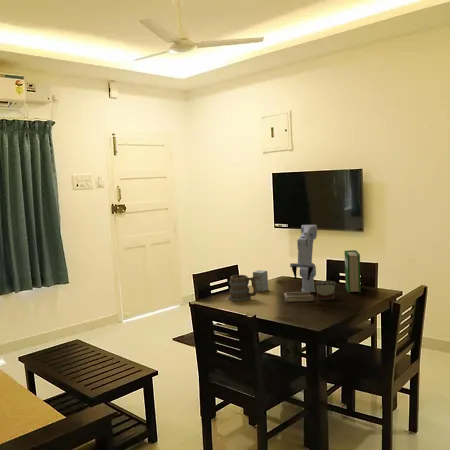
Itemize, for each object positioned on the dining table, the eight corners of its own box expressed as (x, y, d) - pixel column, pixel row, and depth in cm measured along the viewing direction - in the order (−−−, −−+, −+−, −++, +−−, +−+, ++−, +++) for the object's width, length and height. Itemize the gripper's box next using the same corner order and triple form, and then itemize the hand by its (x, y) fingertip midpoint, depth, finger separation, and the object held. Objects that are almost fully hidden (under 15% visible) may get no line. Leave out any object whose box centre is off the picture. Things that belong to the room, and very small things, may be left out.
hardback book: (360, 292, 298) (359, 254, 296) (348, 293, 299) (347, 254, 297) (357, 286, 315) (356, 250, 313) (345, 286, 316) (344, 250, 314)
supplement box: (259, 288, 324) (258, 270, 323) (268, 289, 320) (267, 270, 319) (253, 290, 318) (252, 272, 317) (262, 291, 314) (261, 272, 313)
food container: (335, 296, 292) (334, 280, 292) (336, 298, 286) (335, 282, 285) (314, 296, 294) (313, 280, 293) (315, 299, 288) (314, 282, 287)
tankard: (226, 300, 296) (225, 276, 295) (234, 295, 307) (233, 272, 306) (256, 302, 287) (255, 277, 286) (264, 297, 299) (263, 273, 297)
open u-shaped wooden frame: (284, 297, 296) (284, 292, 296) (310, 296, 296) (310, 291, 295) (286, 301, 285) (286, 296, 285) (313, 300, 285) (313, 295, 284)
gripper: (291, 255, 288) (290, 277, 284) (315, 256, 288) (315, 279, 284) (290, 257, 295) (289, 279, 291) (313, 259, 295) (313, 281, 291)
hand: (302, 279), depth 288 cm, fingers open, 7 cm apart
